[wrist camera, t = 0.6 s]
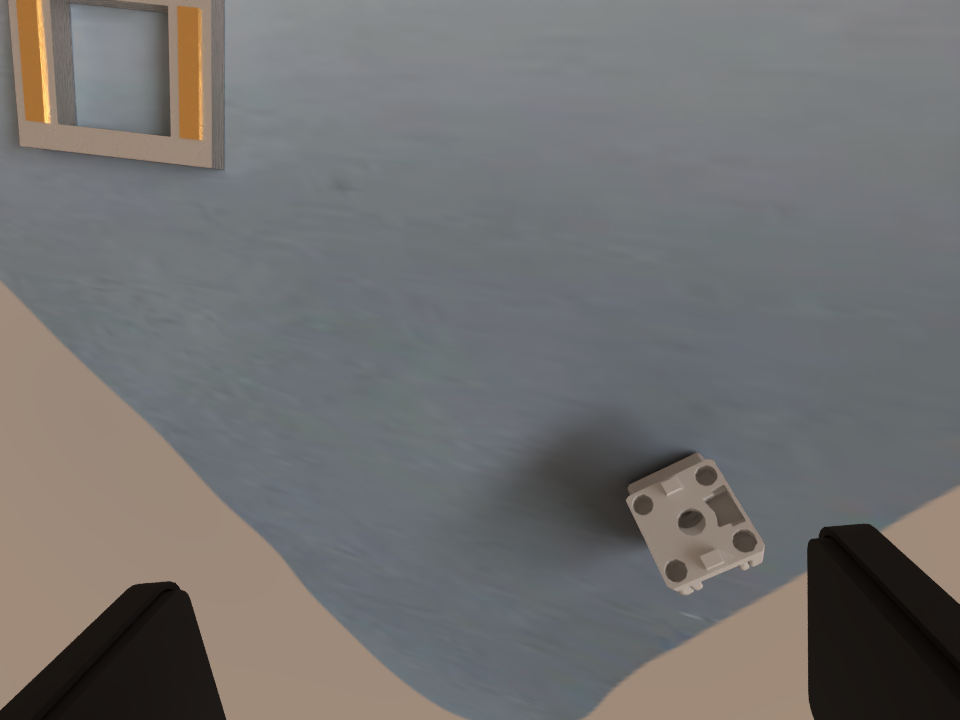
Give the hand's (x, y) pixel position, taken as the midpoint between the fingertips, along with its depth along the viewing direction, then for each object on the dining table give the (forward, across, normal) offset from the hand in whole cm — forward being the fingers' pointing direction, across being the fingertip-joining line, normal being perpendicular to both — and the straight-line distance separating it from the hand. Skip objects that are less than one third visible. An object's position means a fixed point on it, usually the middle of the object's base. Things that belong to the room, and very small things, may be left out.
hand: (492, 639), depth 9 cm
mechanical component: (+30, -9, +13) cm, 34 cm away
